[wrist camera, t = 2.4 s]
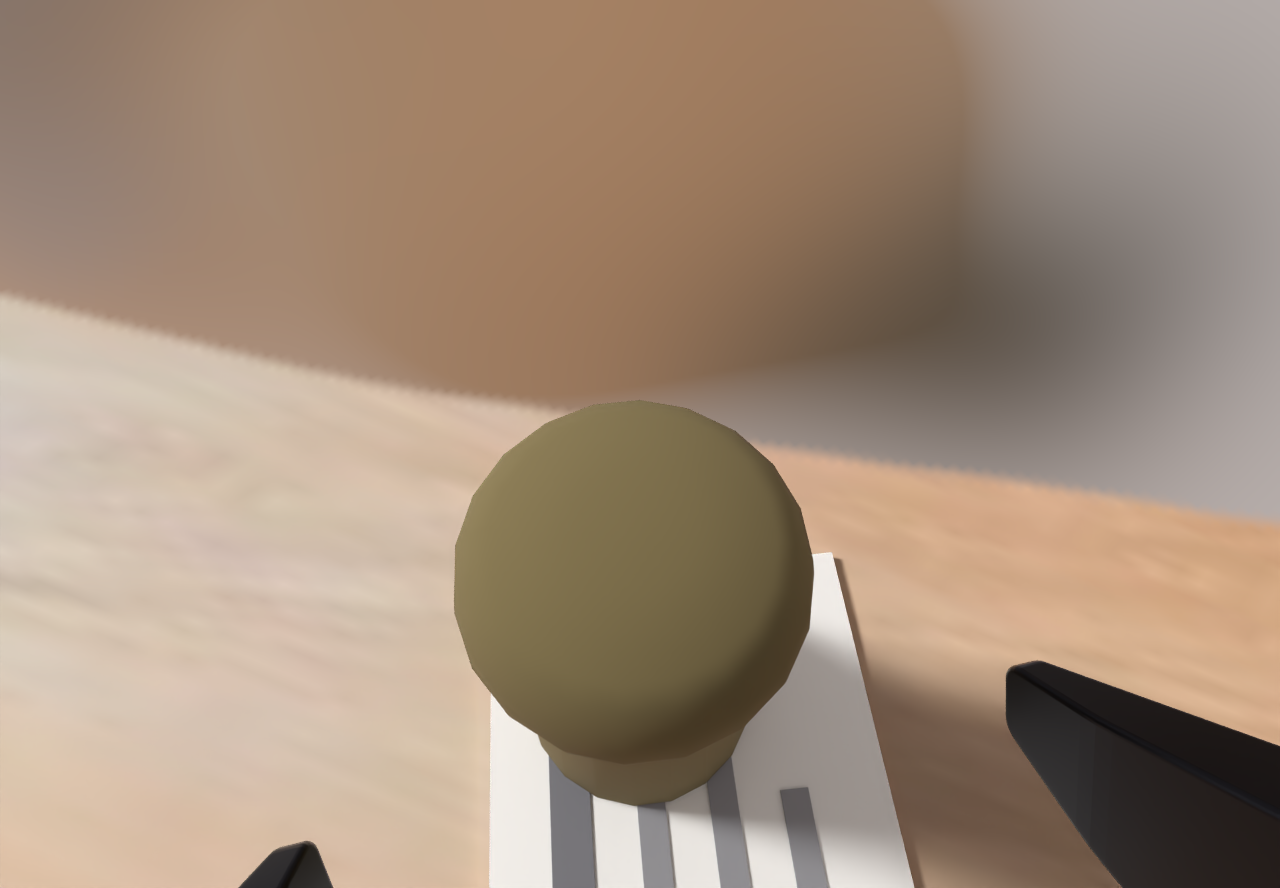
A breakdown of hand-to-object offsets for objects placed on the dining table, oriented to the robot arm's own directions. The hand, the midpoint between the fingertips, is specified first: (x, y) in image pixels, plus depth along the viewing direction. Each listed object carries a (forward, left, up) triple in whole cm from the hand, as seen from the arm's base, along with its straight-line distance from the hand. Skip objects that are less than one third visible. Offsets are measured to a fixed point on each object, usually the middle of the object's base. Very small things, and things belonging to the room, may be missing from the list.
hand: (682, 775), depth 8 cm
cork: (+3, 0, -10) cm, 10 cm away
